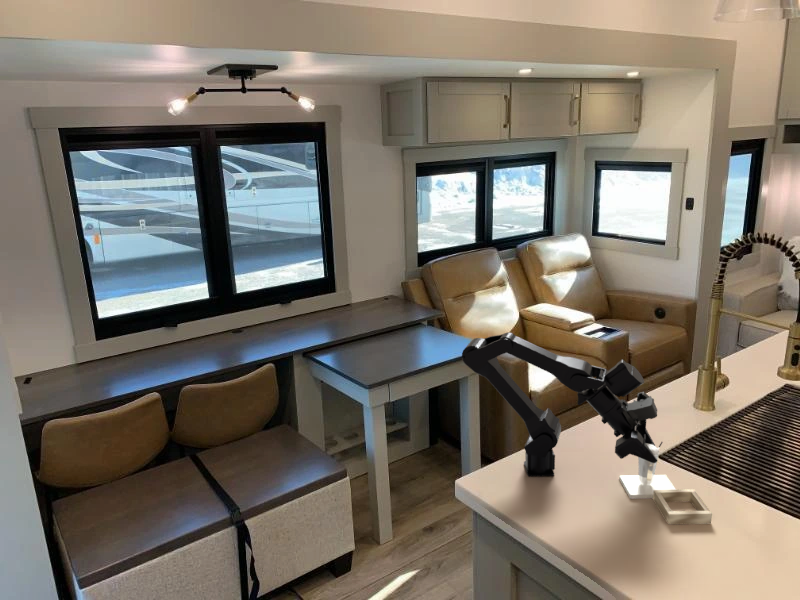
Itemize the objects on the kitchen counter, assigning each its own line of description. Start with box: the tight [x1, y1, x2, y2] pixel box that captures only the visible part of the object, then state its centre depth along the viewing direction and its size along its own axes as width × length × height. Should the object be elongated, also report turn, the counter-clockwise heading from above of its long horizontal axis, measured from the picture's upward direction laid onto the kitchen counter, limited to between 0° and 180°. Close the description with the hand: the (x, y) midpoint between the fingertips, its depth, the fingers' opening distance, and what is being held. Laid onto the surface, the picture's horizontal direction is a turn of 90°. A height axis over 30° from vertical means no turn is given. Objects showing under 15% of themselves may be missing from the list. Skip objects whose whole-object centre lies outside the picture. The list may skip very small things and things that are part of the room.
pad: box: [618, 474, 677, 500], centre depth 143 cm, size 11×8×1 cm
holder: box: [652, 488, 713, 525], centre depth 134 cm, size 9×9×2 cm
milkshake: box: [637, 441, 664, 484], centre depth 142 cm, size 4×5×10 cm
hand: (656, 456), depth 141 cm, fingers closed on milkshake, 4 cm apart
